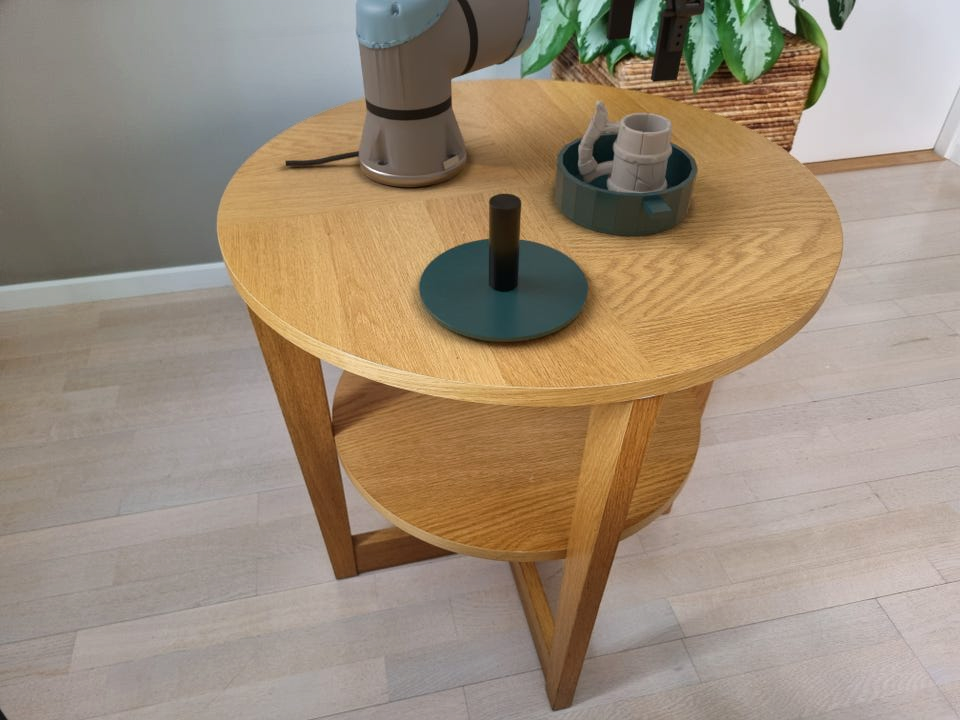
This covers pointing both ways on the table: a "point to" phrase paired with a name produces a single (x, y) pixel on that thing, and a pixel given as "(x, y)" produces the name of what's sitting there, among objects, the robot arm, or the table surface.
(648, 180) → the mug
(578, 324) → the table surface
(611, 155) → the shallow round tub
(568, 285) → the lid
